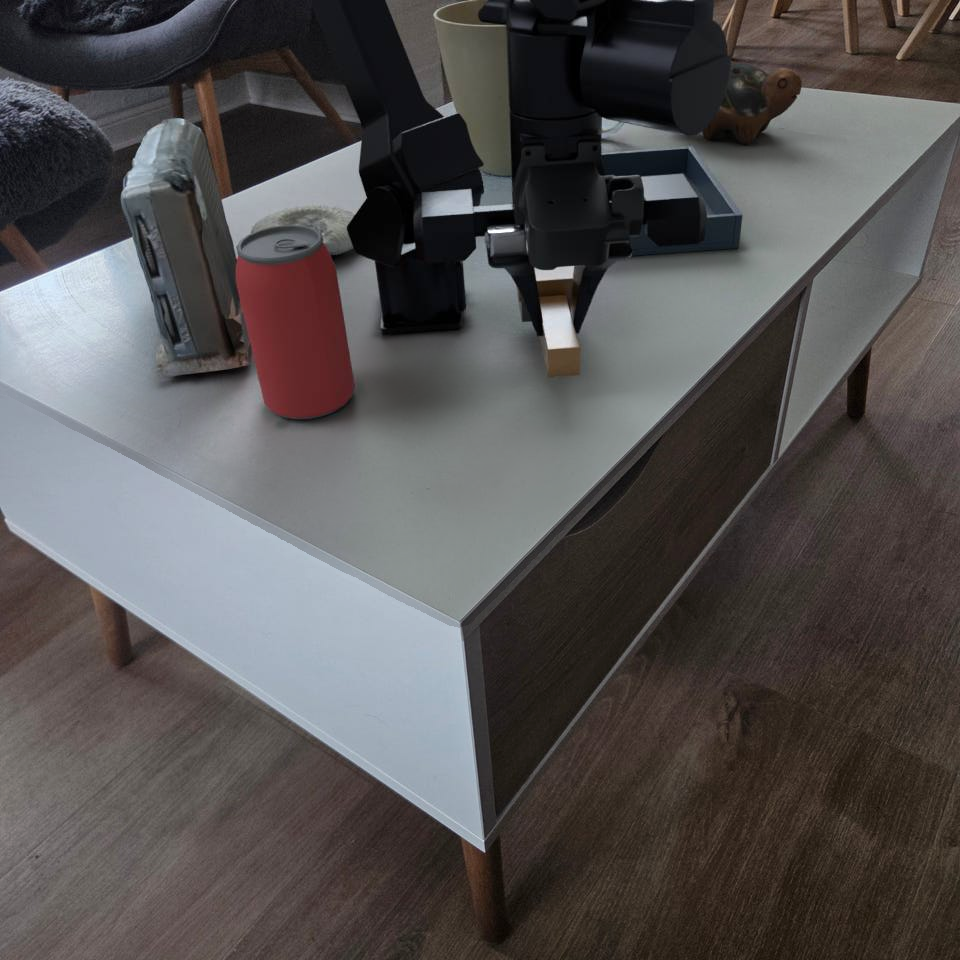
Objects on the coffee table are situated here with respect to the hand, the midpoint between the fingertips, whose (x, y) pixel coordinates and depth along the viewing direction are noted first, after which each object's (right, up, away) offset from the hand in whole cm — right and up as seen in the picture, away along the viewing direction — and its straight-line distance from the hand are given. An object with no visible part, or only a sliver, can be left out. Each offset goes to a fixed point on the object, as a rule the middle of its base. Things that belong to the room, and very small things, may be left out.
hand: (556, 332), depth 66 cm
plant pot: (-2, +25, +38) cm, 46 cm away
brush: (0, 0, +3) cm, 3 cm away
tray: (+11, +16, +25) cm, 31 cm away
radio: (-29, +3, +12) cm, 32 cm away
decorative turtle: (+24, +30, +42) cm, 57 cm away
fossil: (-22, +11, +22) cm, 33 cm away
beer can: (-18, -5, +1) cm, 18 cm away
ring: (+9, +30, +44) cm, 54 cm away
